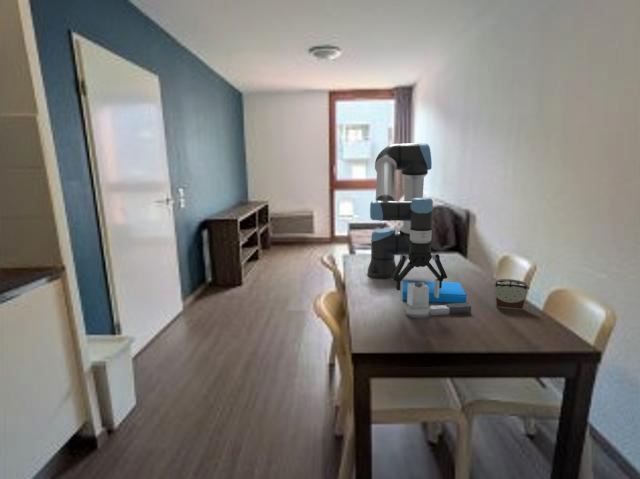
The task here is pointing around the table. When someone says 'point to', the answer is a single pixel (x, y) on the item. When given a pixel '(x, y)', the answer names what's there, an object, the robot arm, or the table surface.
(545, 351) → the table surface
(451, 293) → the book
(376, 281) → the table surface
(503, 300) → the food container
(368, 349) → the table surface
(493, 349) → the table surface
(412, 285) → the grey block with knob
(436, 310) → the ratchet
